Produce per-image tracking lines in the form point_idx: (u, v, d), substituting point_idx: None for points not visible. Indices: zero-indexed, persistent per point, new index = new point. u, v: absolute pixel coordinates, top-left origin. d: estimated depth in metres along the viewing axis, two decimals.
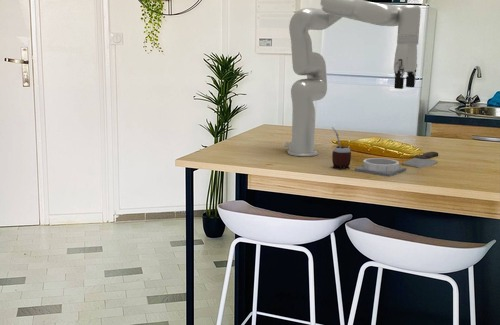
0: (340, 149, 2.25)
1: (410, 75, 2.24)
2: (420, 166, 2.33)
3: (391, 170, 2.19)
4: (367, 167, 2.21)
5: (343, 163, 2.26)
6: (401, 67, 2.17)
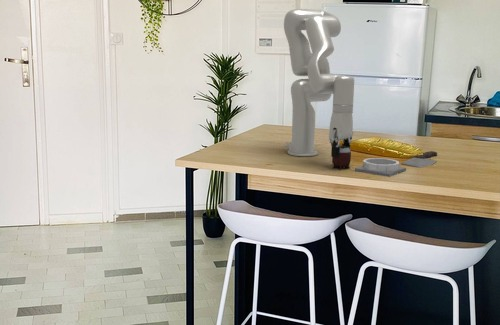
0: (340, 149, 2.25)
1: (345, 142, 2.30)
2: (420, 166, 2.33)
3: (391, 170, 2.19)
4: (367, 167, 2.21)
5: (343, 163, 2.25)
6: (336, 135, 2.24)
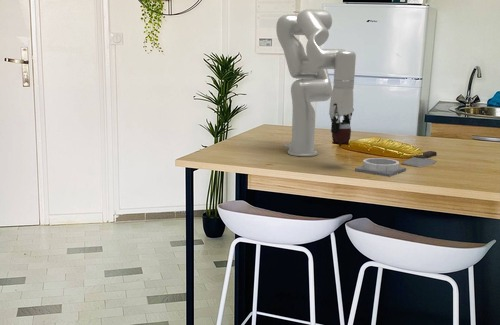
0: (340, 125, 2.23)
1: (346, 118, 2.29)
2: (420, 165, 2.34)
3: (391, 170, 2.19)
4: (367, 167, 2.21)
5: (343, 139, 2.25)
6: (337, 111, 2.23)
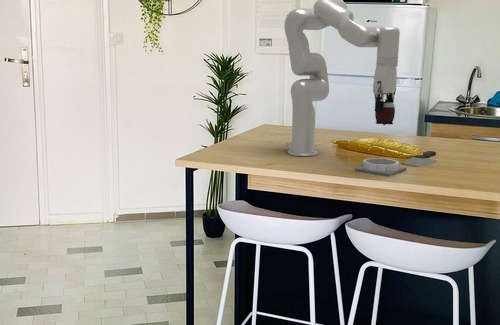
0: (384, 104, 2.17)
1: (389, 98, 2.22)
2: (419, 165, 2.34)
3: (391, 170, 2.19)
4: (367, 167, 2.21)
5: (387, 118, 2.18)
6: (381, 89, 2.17)
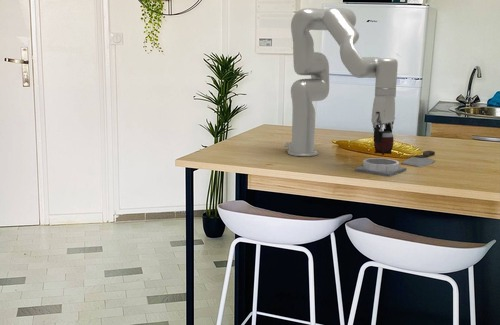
0: (383, 134, 2.19)
1: (387, 127, 2.25)
2: (419, 165, 2.34)
3: (391, 170, 2.19)
4: (367, 167, 2.21)
5: (386, 148, 2.20)
6: (379, 120, 2.19)
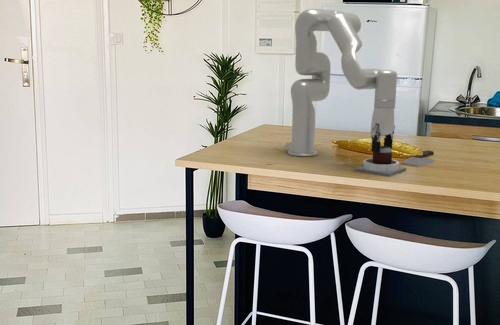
0: (381, 149, 2.20)
1: (388, 137, 2.26)
2: (419, 165, 2.35)
3: (391, 170, 2.19)
4: (367, 167, 2.21)
5: (384, 163, 2.21)
6: (378, 131, 2.19)
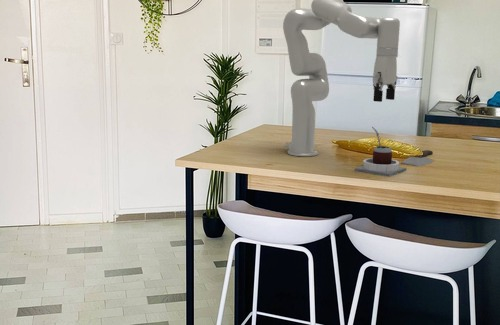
0: (381, 149, 2.20)
1: (390, 87, 2.23)
2: (419, 165, 2.35)
3: (391, 170, 2.19)
4: (367, 167, 2.21)
5: (384, 163, 2.21)
6: (380, 80, 2.16)
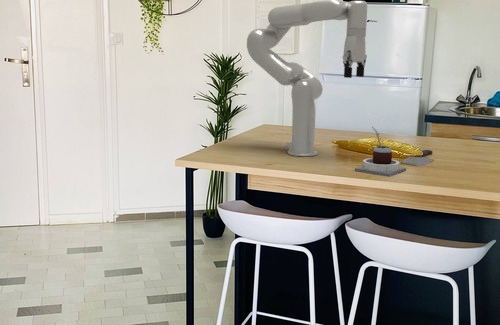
0: (381, 149, 2.20)
1: (360, 65, 2.42)
2: (418, 164, 2.36)
3: (391, 170, 2.19)
4: (367, 167, 2.21)
5: (384, 163, 2.21)
6: (350, 58, 2.36)
